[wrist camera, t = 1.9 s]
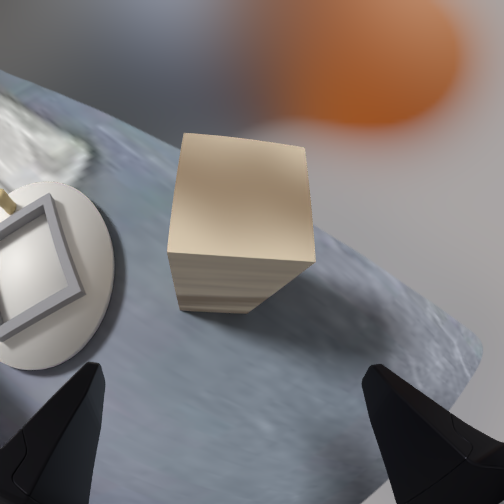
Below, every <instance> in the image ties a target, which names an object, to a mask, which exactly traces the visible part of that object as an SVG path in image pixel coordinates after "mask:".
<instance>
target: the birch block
mask: <svg viewBox="0 0 504 504" xmlns="http://www.w3.org/2000/svg"><path fill="white" fill-rule="evenodd" d="M167 254H168V259H169V264H170V269H171V273H172V278H173V282H174V287H175V291H176V295H177V300H178V304H179V308H180V310H182V311H198V312H218V313H242V314H247V313H249V312H250V311H251V310H253V309H254V308H255V307H257V306H258V305H260V304H261V303H262V302H264V301H265V300H266V299H268V298H269V297H270V296H272V295H273V294H274V293H276V292H277V291H278V290H280V289H281V288H282V287H284V286H285V285H286V284H288V283H289V282H290V281H292V280H293V279H294V278H295V277H297V276H298V275H299V274H301V273H302V272H303V271H305V270H306V269H307V268H308V267H310V266H311V265H312V264H314V263H315V262H316V260H315V246H314V233H313V221H312V211H311V200H310V190H309V181H308V171H307V163H306V154H305V148H303V147H297V146H291V145H285V144H279V143H272V142H265V141H258V140H250V139H243V138H233V137H225V136H215V135H203V134H190V133H184V136H183V141H182V147H181V152H180V158H179V164H178V171H177V177H176V184H175V191H174V198H173V205H172V213H171V221H170V230H169V239H168V248H167Z"/></svg>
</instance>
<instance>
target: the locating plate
mask: <svg viewBox="0 0 504 504" xmlns="http://www.w3.org/2000/svg"><path fill="white" fill-rule="evenodd" d="M114 267H115V263H114V251H113V246H112V241H111V237H110V234H109V231H108V228H107V226H106V224H105V222H104V220H103V218H102V216H101V215H100V213H99V211H98V210H97V208H96V207H95V205H94V204H93V203H92V202H91V201H90V200H89V199H88V198H87V197H86V196H85V195H84V194H83V193H81V192H80V191H78V190H77V189H75V188H73V187H71V186H69V185H66V184H63V183H58V182H36V183H32V184H28V185H25V186H23V187H20V188H18V189H16V190H14V191H13V192H11V193H9V194H7V193H6V192H5V191H4V190H3V189H0V361H1V362H2V363H4V364H6V365H8V366H11V367H14V368H17V369H24V370H40V369H47V368H51V367H55V366H57V365H59V364H62V363H64V362H66V361H67V360H69V359H70V358H72V357H73V356H75V355H76V354H77V353H78V352H79V351H80V350H82V349H83V348H84V346H85V345H86V344H87V343H88V342H89V341H90V340H91V338H92V337H93V335H94V334H95V332H96V331H97V329H98V328H99V326H100V324H101V322H102V320H103V318H104V316H105V313H106V310H107V308H108V305H109V301H110V297H111V294H112V289H113V282H114Z"/></svg>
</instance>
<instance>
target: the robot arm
mask: <svg viewBox="0 0 504 504" xmlns="http://www.w3.org/2000/svg"><path fill="white" fill-rule="evenodd" d="M362 389H363V393H364V397H365V401H366V406H367V410H368V414H369V418H370V422H371V425H372V428H373V431H374V434H375V437H376V440H377V443H378V446H379V449H380V452H381V455H382V458H383V461H384V464H385V467H386V470H387V474H388V477H389V480H390V483H391V486H392V490H393V493H394V497H395V500H396V503H397V504H504V443H503V442H499V441H497V440H495V439H493V438H491V437H489V436H487V435H486V434H484V433H482V432H480V431H478V430H476V429H475V428H473V427H471V426H470V425H468V424H466V423H465V422H463V421H462V420H460V419H459V418H457V417H456V416H455V415H453V414H451V413H450V412H449V411H447V410H446V409H444V408H443V407H442V406H440V405H439V404H437V403H436V402H434V401H433V400H432V399H430V398H429V397H427V396H426V395H424V394H423V393H422V392H420V391H419V390H417V389H416V388H415V387H413V386H412V385H410V384H409V383H407V382H406V381H405V380H403V379H402V378H400V377H399V376H398V375H396V374H395V373H393V372H392V371H391V370H389V369H388V368H386V367H385V366H384V365H382V364H374V365H371V366H370V367H369V368H368V370H367V372H366V374H365V376H364V378H363V379H362ZM104 393H105V378H104V375H103V372H102V368H101V365H100V364H99V363H95V362H87V363H86V364H84V365H83V366H82V367H81V368H80V369H79V370H78V371H77V372H76V373H75V374H74V375H73V376H72V377H71V378H70V379H69V380H68V381H67V382H66V383H65V384H64V385H63V386H62V387H61V388H60V389H59V390H58V391H57V392H56V393H55V394H54V395H53V396H52V397H51V398H50V399H49V400H48V401H47V402H46V403H45V404H44V405H43V406H42V407H41V408H40V409H39V411H38V412H37V413H36V414H35V415H34V416H33V417H32V418H31V419H30V420H29V421H28V422H27V423H26V424H25V425H24V426H23V427H22V429H20V430H19V431H18V432H17V433H16V434H15V435H14V436H13V437H12V438H11V439H10V440H9V441H8V442H7V443H6V444H5V445H4V446H3V447H2V448H1V449H0V504H89V496H90V489H91V482H92V475H93V469H94V462H95V457H96V451H97V446H98V441H99V435H100V430H101V423H102V412H103V402H104Z"/></svg>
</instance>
